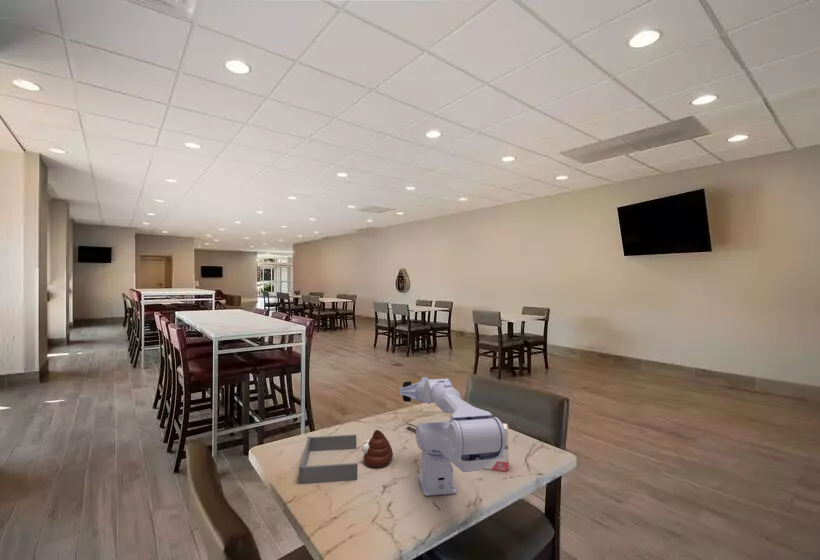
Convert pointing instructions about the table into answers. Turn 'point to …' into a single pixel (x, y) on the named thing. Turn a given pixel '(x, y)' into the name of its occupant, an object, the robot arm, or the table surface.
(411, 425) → the washcloth
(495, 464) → the ink box
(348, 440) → the bin
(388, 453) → the poop emoji
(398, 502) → the table surface
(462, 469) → the robot arm
